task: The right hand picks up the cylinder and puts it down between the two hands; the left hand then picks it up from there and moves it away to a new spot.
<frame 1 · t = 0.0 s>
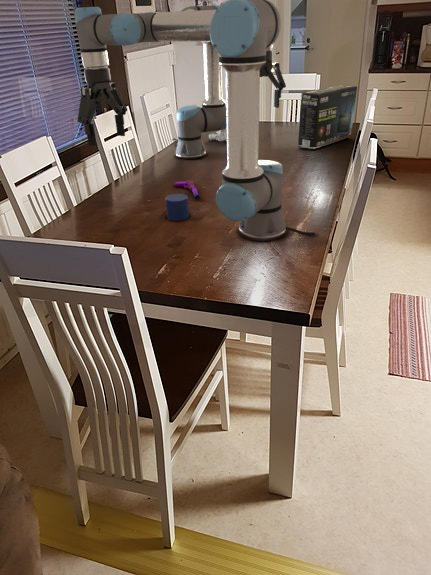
left hand: (261, 109, 184), 28 cm above the table, tool pointing down, fingers open, 13 cm apart
right hand: (107, 140, 148), 28 cm above the table, tool pointing down, fingers open, 13 cm apart
fossil: (224, 139, 259), on the table
cylinder: (178, 216, 164), on the table
router box: (325, 143, 245), on the table
handgun: (188, 191, 186), on the table
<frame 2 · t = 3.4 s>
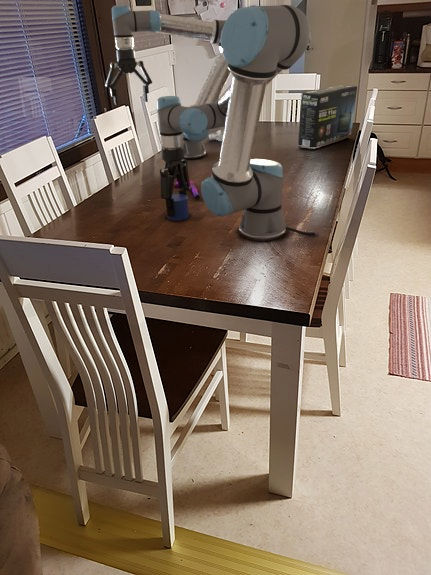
left hand: (131, 103, 202), 29 cm above the table, tool pointing down, fingers open, 13 cm apart
right hand: (177, 212, 163), 2 cm above the table, tool pointing down, fingers closed on cylinder, 8 cm apart
cylinder: (178, 216, 164), on the table, touching right hand
everything else where it was.
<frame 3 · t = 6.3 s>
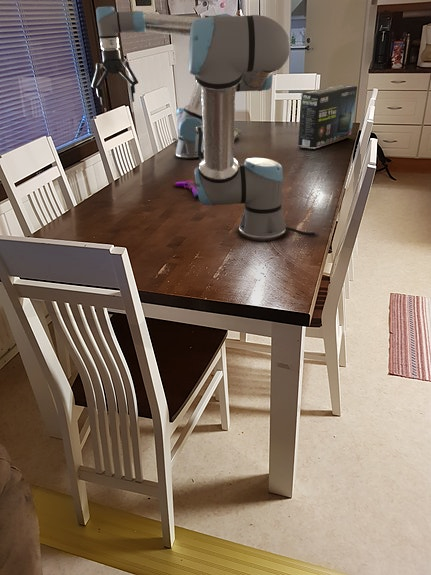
left hand: (117, 103, 204), 29 cm above the table, tool pointing down, fingers open, 13 cm apart
right hand: (215, 171, 170), 11 cm above the table, tool pointing down, fingers closed on cylinder, 8 cm apart
cylinder: (215, 176, 171), point 10 cm above the table, touching right hand
everything else where it was.
when the right hand's fingers open (3 cm above the table, at t = 9.5 s): cylinder drops 1 cm, on the table.
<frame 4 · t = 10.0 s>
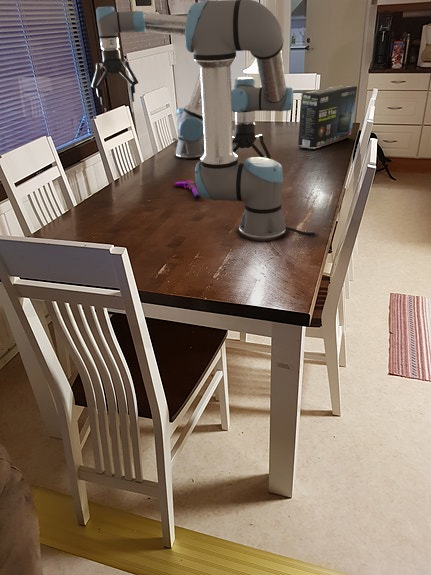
left hand: (117, 103, 204), 29 cm above the table, tool pointing down, fingers open, 13 cm apart
right hand: (244, 177, 183), 5 cm above the table, tool pointing down, fingers open, 13 cm apart
cylinder: (245, 189, 186), on the table
everything else where it was.
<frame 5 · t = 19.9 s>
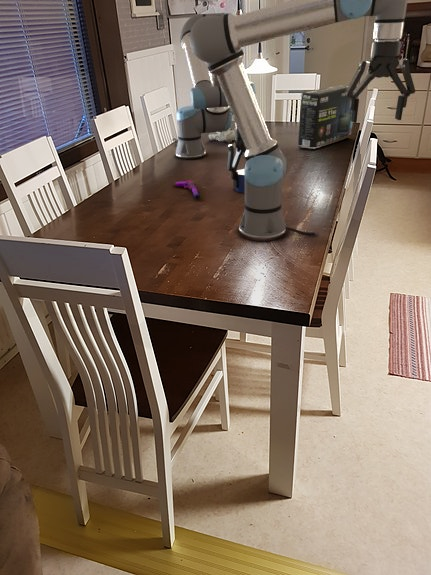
left hand: (245, 185, 185), 2 cm above the table, tool pointing down, fingers closed on cylinder, 8 cm apart
right hand: (375, 120, 138), 32 cm above the table, tool pointing down, fingers open, 13 cm apart
cylinder: (245, 189, 186), on the table, touching left hand
everything else where it was.
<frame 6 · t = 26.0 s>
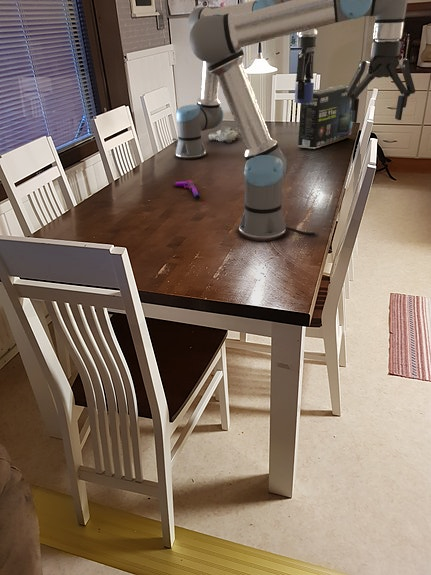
left hand: (303, 97, 194), 30 cm above the table, tool pointing down, fingers closed on cylinder, 8 cm apart
right hand: (375, 120, 138), 32 cm above the table, tool pointing down, fingers open, 13 cm apart
cylinder: (303, 101, 195), point 28 cm above the table, touching left hand
everything else where it was.
when the left hand's fingers open (3 cm above the table, at t = 32.1 s): cylinder drops 1 cm, on the table.
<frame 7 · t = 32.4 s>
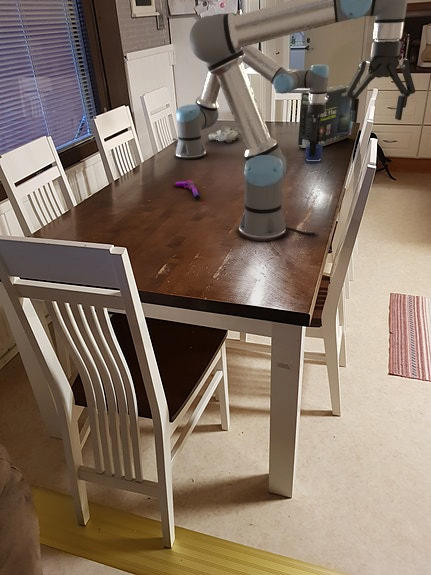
left hand: (313, 152, 215), 4 cm above the table, tool pointing down, fingers open, 11 cm apart
right hand: (375, 120, 138), 32 cm above the table, tool pointing down, fingers open, 13 cm apart
cylinder: (313, 161, 217), on the table
everything else where it was.
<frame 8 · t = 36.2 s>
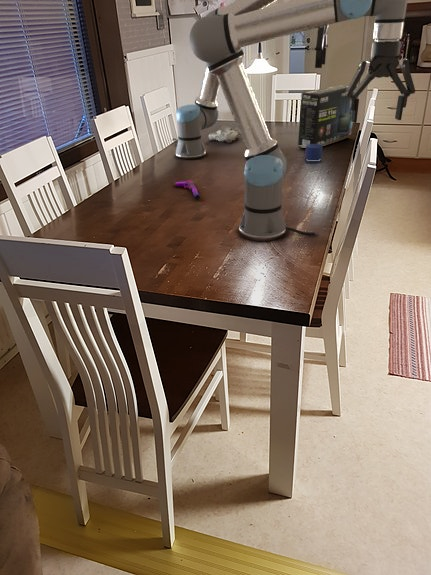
left hand: (320, 66, 196), 41 cm above the table, tool pointing down, fingers open, 13 cm apart
right hand: (375, 120, 138), 32 cm above the table, tool pointing down, fingers open, 13 cm apart
nothing on the table moved.
at the end: cylinder inside the target area (0.0 cm from its centre), on the table; cylinder tilted 0°; the two hands never held the cylinder at the same time; the left hand is holding nothing; the right hand is holding nothing; cylinder at rest at the end (0.0 cm/s) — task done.
